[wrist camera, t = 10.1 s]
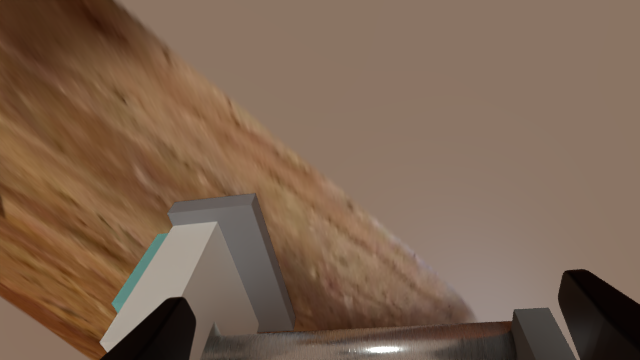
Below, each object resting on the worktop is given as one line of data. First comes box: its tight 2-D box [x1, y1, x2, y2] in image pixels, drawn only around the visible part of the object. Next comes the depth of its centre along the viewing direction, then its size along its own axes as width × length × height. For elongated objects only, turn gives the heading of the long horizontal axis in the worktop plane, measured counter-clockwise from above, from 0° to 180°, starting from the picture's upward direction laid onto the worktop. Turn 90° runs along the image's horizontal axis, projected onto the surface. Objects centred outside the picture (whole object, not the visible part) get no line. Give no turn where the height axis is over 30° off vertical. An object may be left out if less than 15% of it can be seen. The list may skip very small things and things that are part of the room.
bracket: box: [100, 193, 296, 360], centre depth 23 cm, size 6×12×10 cm, turn 10°
